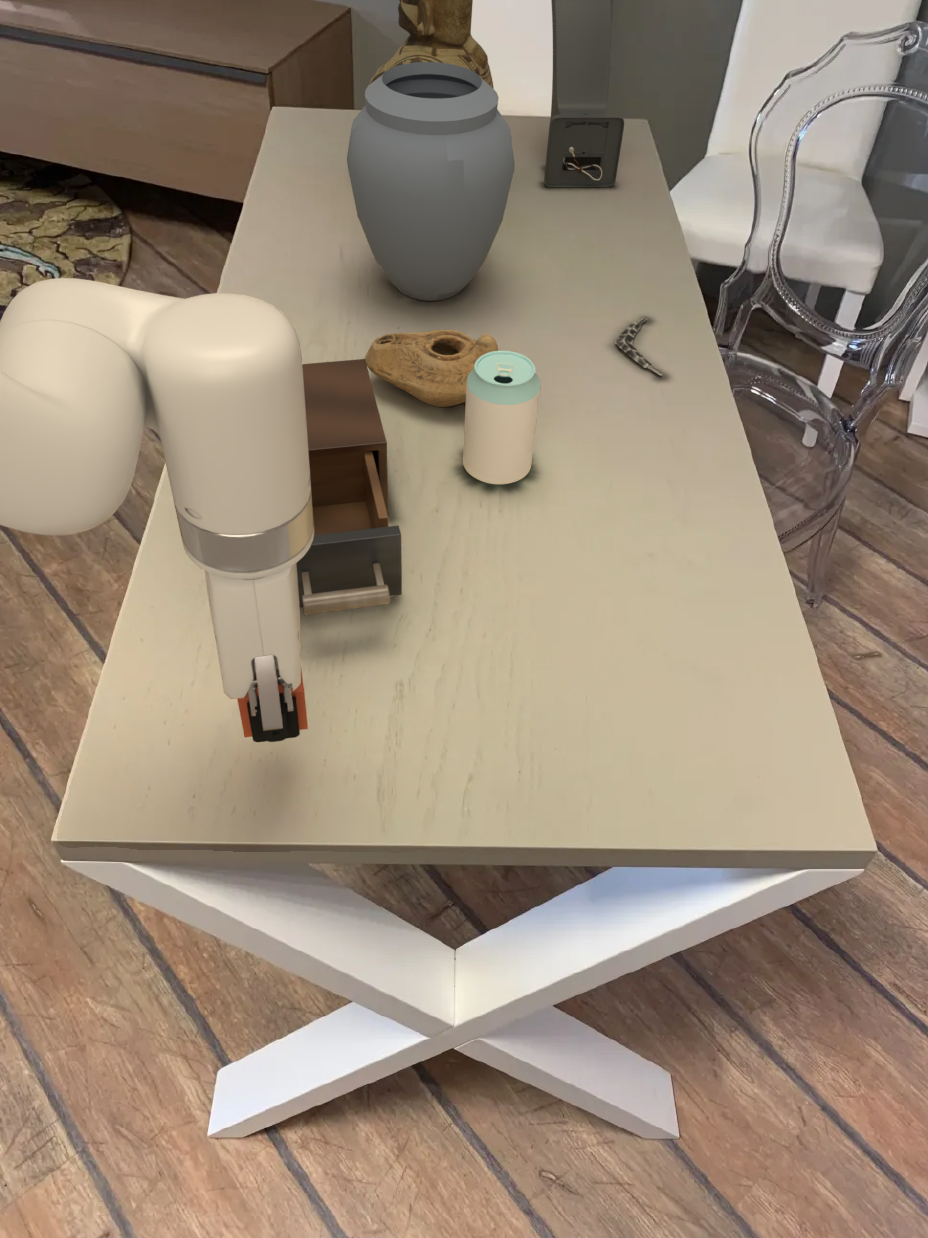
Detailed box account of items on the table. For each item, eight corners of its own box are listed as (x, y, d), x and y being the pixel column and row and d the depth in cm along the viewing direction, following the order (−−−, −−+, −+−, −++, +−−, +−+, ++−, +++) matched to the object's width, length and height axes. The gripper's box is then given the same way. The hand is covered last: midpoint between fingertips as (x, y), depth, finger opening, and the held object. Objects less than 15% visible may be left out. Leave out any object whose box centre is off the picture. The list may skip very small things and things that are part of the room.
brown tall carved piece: (328, 178, 141) (312, -63, 119) (425, 140, 152) (427, -88, 130) (420, 221, 133) (422, -29, 111) (515, 177, 144) (534, -58, 122)
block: (244, 737, 66) (237, 699, 62) (240, 688, 68) (233, 649, 65) (308, 729, 66) (304, 691, 63) (301, 680, 69) (297, 641, 66)
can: (543, 476, 97) (557, 376, 88) (485, 497, 94) (492, 396, 85) (507, 438, 101) (516, 339, 92) (450, 458, 98) (453, 357, 89)
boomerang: (608, 311, 117) (647, 314, 117) (607, 317, 118) (646, 320, 118) (622, 370, 109) (664, 373, 109) (620, 375, 109) (663, 378, 109)
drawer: (410, 631, 81) (410, 570, 75) (288, 647, 79) (278, 587, 73) (380, 502, 92) (378, 442, 86) (272, 514, 90) (262, 453, 84)
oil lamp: (367, 363, 109) (365, 300, 103) (497, 366, 110) (501, 303, 104) (363, 421, 102) (360, 356, 96) (502, 423, 102) (507, 359, 96)
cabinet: (388, 517, 91) (386, 442, 85) (267, 531, 89) (255, 455, 83) (368, 433, 100) (365, 358, 93) (257, 444, 98) (246, 368, 92)
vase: (410, 235, 130) (409, 37, 112) (532, 278, 124) (552, 75, 105) (322, 294, 119) (305, 84, 101) (451, 344, 112) (459, 129, 94)
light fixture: (592, 141, 154) (616, -34, 136) (615, 188, 143) (644, 3, 125) (527, 141, 153) (542, -35, 135) (544, 188, 142) (564, 2, 124)
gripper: (176, 430, 58) (214, 625, 72) (181, 633, 48) (225, 818, 61) (298, 421, 60) (313, 614, 73) (330, 616, 49) (341, 800, 63)
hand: (273, 705), depth 67 cm, fingers closed on block, 4 cm apart
